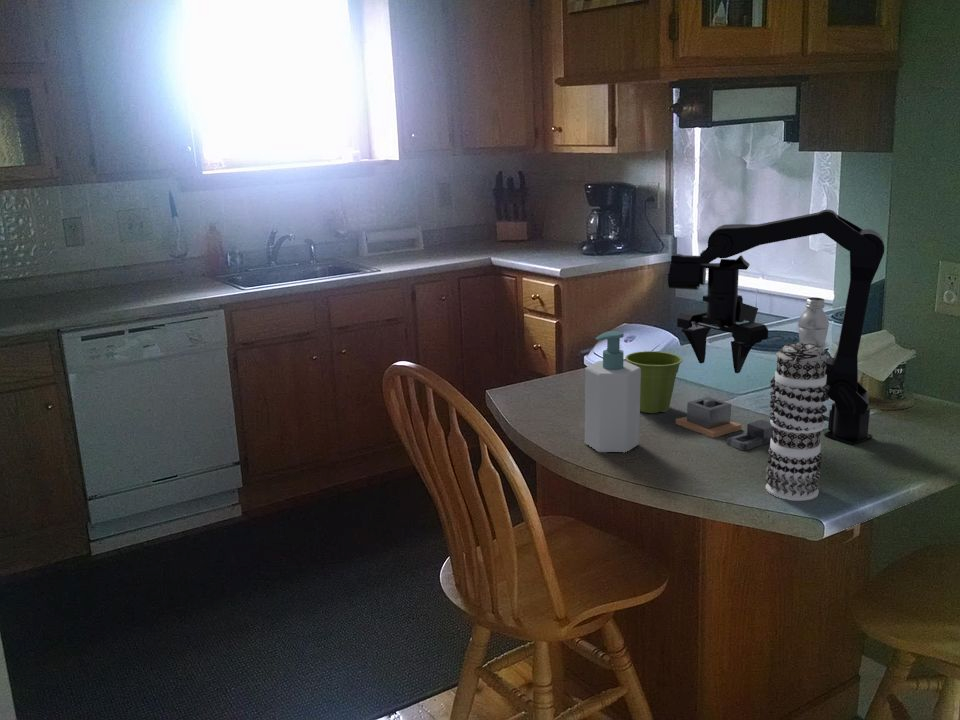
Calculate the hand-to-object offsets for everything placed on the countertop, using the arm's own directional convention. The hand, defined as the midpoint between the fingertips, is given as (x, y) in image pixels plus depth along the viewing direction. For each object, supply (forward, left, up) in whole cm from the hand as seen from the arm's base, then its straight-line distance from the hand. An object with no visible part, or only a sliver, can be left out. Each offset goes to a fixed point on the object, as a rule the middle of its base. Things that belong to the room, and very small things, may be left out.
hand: (719, 367), depth 182 cm
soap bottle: (+4, +25, -12) cm, 28 cm away
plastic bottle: (+6, -36, -12) cm, 39 cm away
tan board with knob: (0, +3, -12) cm, 12 cm away
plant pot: (+15, +4, -12) cm, 19 cm away
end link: (0, +3, -11) cm, 11 cm away
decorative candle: (-30, +15, -12) cm, 36 cm away
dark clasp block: (-11, +2, -12) cm, 17 cm away
